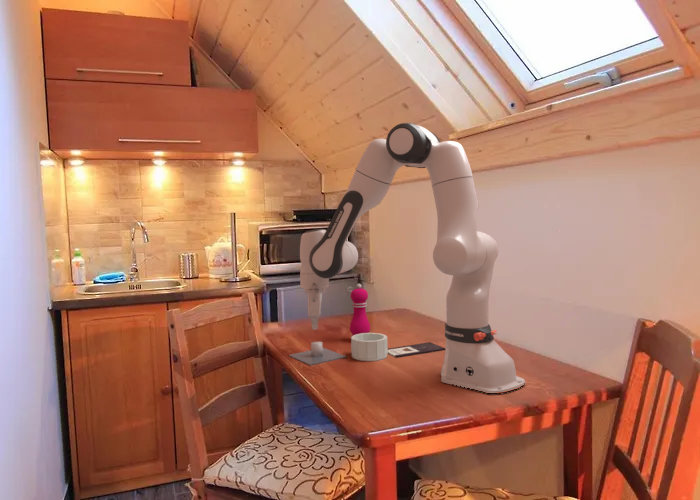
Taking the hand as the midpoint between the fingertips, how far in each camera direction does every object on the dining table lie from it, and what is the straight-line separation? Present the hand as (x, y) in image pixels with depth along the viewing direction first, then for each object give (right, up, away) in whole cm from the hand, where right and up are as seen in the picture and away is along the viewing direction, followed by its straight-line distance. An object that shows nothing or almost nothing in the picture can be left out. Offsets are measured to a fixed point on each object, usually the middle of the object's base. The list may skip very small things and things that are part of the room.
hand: (315, 325), depth 164 cm
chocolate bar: (+32, -9, +5) cm, 33 cm away
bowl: (+17, -10, 0) cm, 19 cm away
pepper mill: (+14, -8, +19) cm, 25 cm away
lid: (+1, -11, +1) cm, 11 cm away
